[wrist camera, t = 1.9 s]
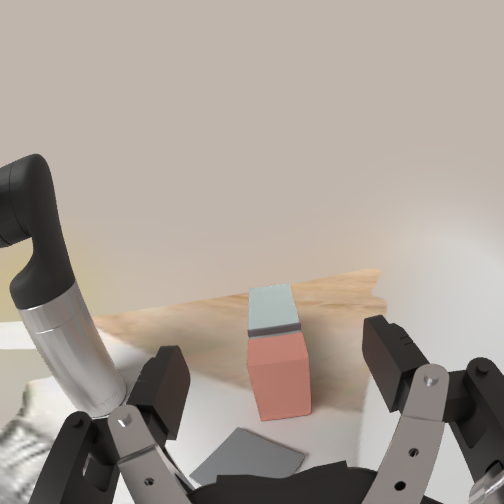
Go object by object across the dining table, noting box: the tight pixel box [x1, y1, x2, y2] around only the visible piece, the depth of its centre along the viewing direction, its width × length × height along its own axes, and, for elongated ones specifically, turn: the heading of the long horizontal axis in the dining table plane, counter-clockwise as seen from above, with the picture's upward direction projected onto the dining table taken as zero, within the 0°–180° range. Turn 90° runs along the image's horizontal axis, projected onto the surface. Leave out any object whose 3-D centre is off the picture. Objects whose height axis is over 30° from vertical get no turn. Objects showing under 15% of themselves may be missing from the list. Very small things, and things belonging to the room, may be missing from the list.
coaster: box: [189, 427, 305, 486], centre depth 19 cm, size 8×8×1 cm
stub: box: [247, 332, 311, 421], centre depth 26 cm, size 4×6×9 cm
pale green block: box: [248, 283, 301, 340], centre depth 33 cm, size 11×6×9 cm, turn 0°
